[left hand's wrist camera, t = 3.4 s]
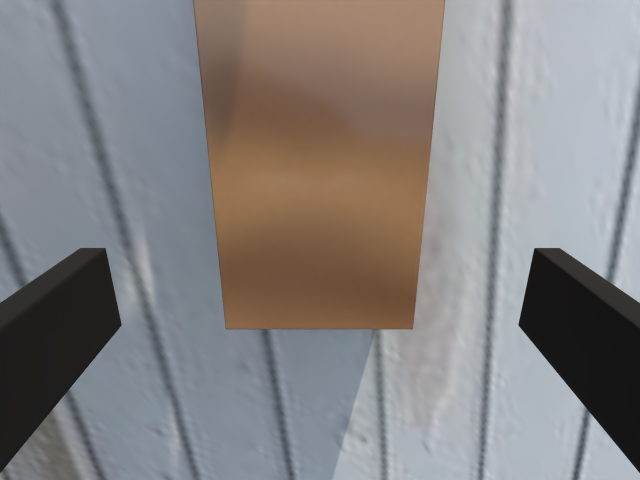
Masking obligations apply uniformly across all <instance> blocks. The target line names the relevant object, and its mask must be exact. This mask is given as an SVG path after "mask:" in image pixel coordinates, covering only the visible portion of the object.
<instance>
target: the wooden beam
mask: <svg viewBox="0 0 640 480" xmlns="http://www.w3.org/2000/svg"><path fill="white" fill-rule="evenodd" d="M193 4H194V14H195V24H196V34H197V44H198V54H199V65H200V75H201V85H202V95H203V105H204V115H205V125H206V135H207V145H208V155H209V165H210V175H211V185H212V195H213V205H214V215H215V225H216V235H217V245H218V256H219V266H220V276H221V286H222V296H223V306H224V316H225V326H226V329H413V323H414V313H415V303H416V293H417V282H418V272H419V262H420V252H421V242H422V231H423V221H424V211H425V201H426V191H427V180H428V170H429V160H430V150H431V140H432V130H433V119H434V109H435V99H436V89H437V79H438V68H439V58H440V48H441V38H442V28H443V17H444V7H445V0H193Z"/></svg>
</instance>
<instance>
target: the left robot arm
mask: <svg viewBox="0 0 640 480" xmlns="http://www.w3.org/2000/svg"><path fill="white" fill-rule="evenodd" d="M120 327H121V320H120V316H119V311H118V306H117V301H116V296H115V292H114V287H113V282H112V277H111V272H110V268H109V263H108V258H107V253H106V248H80V249H78V250H77V251H76V252H74V253H73V254H71V255H70V256H68V257H67V258H65V259H64V260H62V261H61V262H60V263H58V264H57V265H55V266H54V267H52V268H51V269H49V270H48V271H46V272H45V273H43V274H42V275H41V276H39V277H38V278H36V279H35V280H33V281H32V282H30V283H29V284H27V285H26V286H25V287H23V288H22V289H20V290H19V291H17V292H16V293H14V294H13V295H11V296H10V297H8V298H7V299H6V300H4V301H3V302H1V303H0V473H1V471H2V470H3V469H4V468H5V466H6V465H7V464H8V463H9V462H10V460H11V459H12V458H13V457H14V456H15V454H16V453H17V452H18V451H19V449H20V448H21V447H22V446H23V445H24V443H25V442H26V441H27V440H28V438H29V437H30V436H31V435H32V434H33V432H34V431H35V430H36V429H37V428H38V426H39V425H40V424H41V423H42V421H43V420H44V419H45V418H46V417H47V415H48V414H49V413H50V412H51V411H52V409H53V408H54V407H55V406H56V404H57V403H58V402H59V401H60V400H61V398H62V397H63V396H64V395H65V393H66V392H67V391H68V390H69V389H70V387H71V386H72V385H73V384H74V383H75V381H76V380H77V379H78V378H79V376H80V375H81V374H82V373H83V372H84V370H85V369H86V368H87V367H88V365H89V364H90V363H91V362H92V361H93V359H94V358H95V357H96V356H97V355H98V353H99V352H100V351H101V350H102V348H103V347H104V346H105V345H106V344H107V342H108V341H109V340H110V339H111V337H112V336H113V335H114V334H115V333H116V331H117V330H118V329H119V328H120ZM519 327H520V328H521V329H522V330H523V331H524V333H525V334H526V335H527V336H528V337H529V339H530V340H531V341H532V342H533V344H534V345H535V346H536V347H537V348H538V350H539V351H540V352H541V353H542V355H543V356H544V357H545V358H546V359H547V361H548V362H549V363H550V364H551V365H552V367H553V368H554V369H555V370H556V372H557V373H558V374H559V375H560V376H561V378H562V379H563V380H564V381H565V383H566V384H567V385H568V386H569V387H570V389H571V390H572V391H573V392H574V393H575V395H576V396H577V397H578V398H579V400H580V401H581V402H582V403H583V404H584V406H585V407H586V408H587V409H588V411H589V412H590V413H591V414H592V415H593V417H594V418H595V419H596V420H597V421H598V423H599V424H600V425H601V426H602V428H603V429H604V430H605V431H606V432H607V434H608V435H609V436H610V437H611V438H612V440H613V441H614V442H615V443H616V445H617V446H618V447H619V448H620V449H621V451H622V452H623V453H624V454H625V456H626V457H627V458H628V459H629V460H630V462H631V463H632V464H633V465H634V466H635V468H636V469H637V470H638V471H639V473H640V303H639V302H637V301H636V300H634V299H633V298H632V297H630V296H629V295H627V294H626V293H624V292H623V291H621V290H620V289H618V288H617V287H615V286H614V285H613V284H611V283H610V282H608V281H607V280H605V279H604V278H602V277H601V276H599V275H598V274H597V273H595V272H594V271H592V270H591V269H589V268H588V267H586V266H585V265H583V264H582V263H580V262H579V261H578V260H576V259H575V258H573V257H572V256H570V255H569V254H567V253H566V252H564V251H563V250H562V249H560V248H534V253H533V258H532V263H531V268H530V272H529V277H528V282H527V287H526V292H525V296H524V301H523V306H522V311H521V316H520V320H519Z"/></svg>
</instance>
